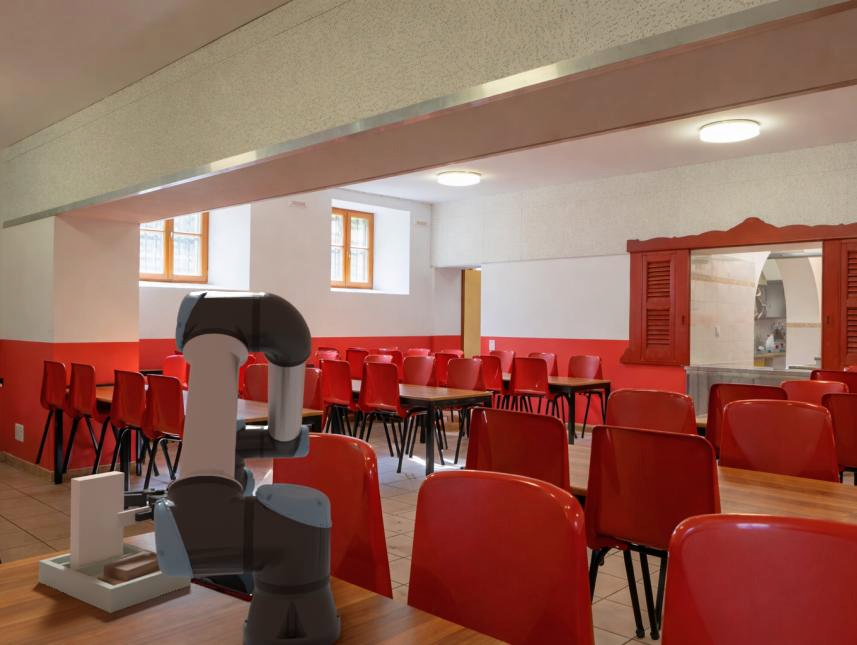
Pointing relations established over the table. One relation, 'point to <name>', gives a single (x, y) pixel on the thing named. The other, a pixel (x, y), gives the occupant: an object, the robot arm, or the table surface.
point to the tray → (102, 594)
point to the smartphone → (230, 584)
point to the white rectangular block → (96, 518)
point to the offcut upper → (132, 566)
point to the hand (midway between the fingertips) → (97, 514)
